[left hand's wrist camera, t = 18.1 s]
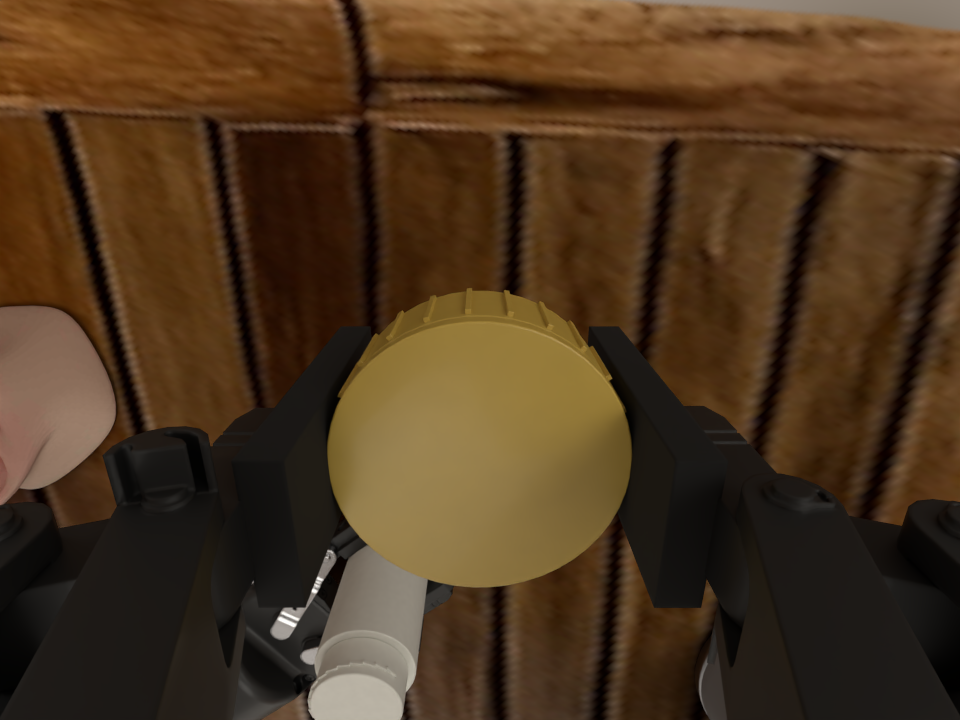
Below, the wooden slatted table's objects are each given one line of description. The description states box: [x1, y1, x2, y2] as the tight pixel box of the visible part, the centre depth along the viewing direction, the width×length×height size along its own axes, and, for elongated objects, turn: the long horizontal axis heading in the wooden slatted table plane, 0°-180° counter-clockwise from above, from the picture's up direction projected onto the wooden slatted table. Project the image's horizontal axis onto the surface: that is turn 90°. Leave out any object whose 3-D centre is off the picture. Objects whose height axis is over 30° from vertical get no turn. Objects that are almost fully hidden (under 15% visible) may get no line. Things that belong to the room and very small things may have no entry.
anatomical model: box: [0, 306, 116, 505], centre depth 34 cm, size 13×4×12 cm
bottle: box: [308, 545, 428, 720], centre depth 31 cm, size 5×5×15 cm
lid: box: [327, 288, 632, 587], centre depth 11 cm, size 6×6×2 cm
